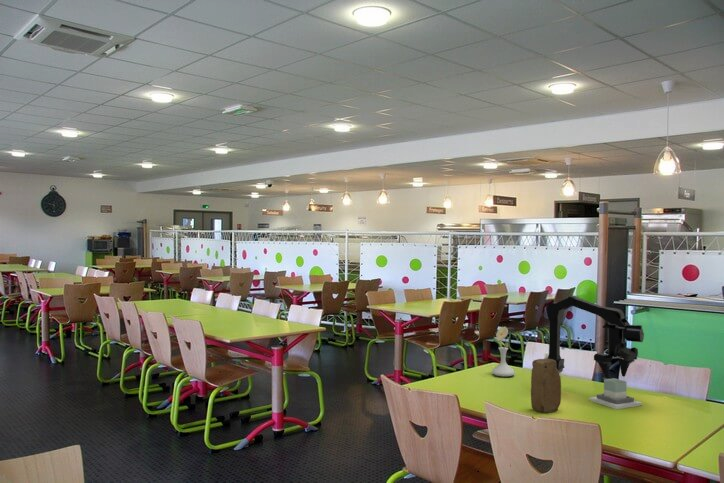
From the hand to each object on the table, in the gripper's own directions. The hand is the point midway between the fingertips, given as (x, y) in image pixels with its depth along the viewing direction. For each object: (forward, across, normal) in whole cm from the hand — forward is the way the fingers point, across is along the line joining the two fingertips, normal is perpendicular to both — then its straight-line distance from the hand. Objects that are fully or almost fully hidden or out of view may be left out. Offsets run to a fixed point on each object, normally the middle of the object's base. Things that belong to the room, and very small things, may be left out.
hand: (615, 377), depth 230 cm
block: (+11, -34, +3) cm, 36 cm away
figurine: (+11, +10, +47) cm, 49 cm away
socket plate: (+10, 0, 0) cm, 11 cm away
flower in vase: (+11, -12, +57) cm, 59 cm away
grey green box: (+9, 0, 0) cm, 9 cm away
